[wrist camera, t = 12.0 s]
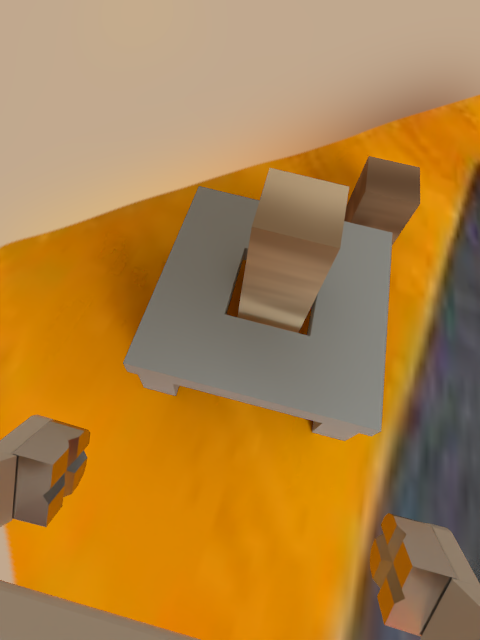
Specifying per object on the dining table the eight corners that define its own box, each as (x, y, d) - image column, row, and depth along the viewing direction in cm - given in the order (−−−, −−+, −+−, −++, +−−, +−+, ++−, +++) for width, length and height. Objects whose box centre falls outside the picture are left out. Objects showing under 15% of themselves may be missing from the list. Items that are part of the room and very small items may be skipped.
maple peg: (245, 297, 26) (269, 167, 17) (295, 310, 26) (349, 186, 16) (233, 342, 25) (251, 226, 15) (286, 356, 24) (340, 248, 15)
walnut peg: (343, 213, 31) (368, 156, 26) (386, 223, 31) (419, 167, 26) (339, 245, 29) (365, 191, 24) (384, 256, 29) (420, 203, 24)
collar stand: (199, 232, 29) (198, 186, 25) (365, 273, 28) (392, 232, 24) (137, 390, 22) (123, 363, 18) (349, 447, 22) (380, 431, 18)
